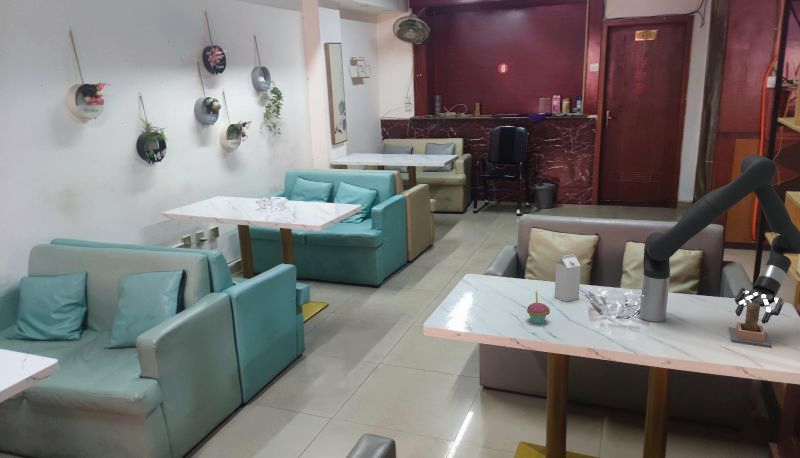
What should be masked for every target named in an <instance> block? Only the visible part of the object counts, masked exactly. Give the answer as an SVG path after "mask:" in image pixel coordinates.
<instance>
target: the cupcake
mask: <svg viewBox="0 0 800 458" xmlns="http://www.w3.org/2000/svg"><path fill="white" fill-rule="evenodd" d="M538 298H539V297H538V292H537V289H535V302H533V303H531V304H529V305H527V309H526V312H527V314H528V315H529V317H530V321H531V323H534V324H544V322H545V319H546V317H547V316H548V315H550V313H551V311H550V307H549V306H548V305H546V304H544V303H540V302H539V299H538Z"/></svg>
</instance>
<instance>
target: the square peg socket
mask: <svg viewBox="0 0 800 458" xmlns="http://www.w3.org/2000/svg"><path fill="white" fill-rule="evenodd" d="M744 326H745V322H739V321H737V322H736V323H735V327H730V326H729V327H728V332H729V337H730V342H731V343H737V344H742V345H743V344H744V345H751V346H757V347H758V346H759V347H764V348H765V347H766V348H772V343H771V340H770V337H769V334H768V332H767V331H765V330H764V326H763V325H761V324H758V325H757V332H753V331H746V330H744Z"/></svg>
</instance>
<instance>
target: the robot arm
mask: <svg viewBox="0 0 800 458" xmlns="http://www.w3.org/2000/svg"><path fill="white" fill-rule="evenodd" d="M739 167H740V168H739V169H740V170H739V171H740V173H741V174H740V175H738V176H737V177H736V178H735V179H734V180H732V181H731V182H729V183H727V184H726V185H723V186H720V187H718V188H716V189H714V190H712V191H711V190H710V192H708V193H706V194H704V195H703V196H702V197H700V198H699V199H697V201H695V202H694V203H692V205H691V206H690V207H689V208H688V209H687V210H686V211H685V213H683V215H682V217H681V218H680V219H679V220H678V221H677V222H676V224H675V225H673V227H672V228H670V229H669V230H667V231H665V232H664V233H663V232H653V233H650V234H649V235H648V236H647V237H646V239H645V241H644V246H643V247H644V248H643V265H642V266H643V277H642V285H641V286H642V287H641V297H640V307H639V319H641V320H645V321H647V322H653V323H662V322H665V321H666V318H667V309H668V308H667V307H668V297H669V288H670V277H671V267H670V258H672V257H673V256H674V255H675V254H676V253H677V252H678V251H679V250H680V249H681V248H682V247H683V246H684V245H686V243H687V242H688V241H690V240H691V239H692V238H694V237H695V236H696V235H698V234H699V233H701V232H702V231H703V230H705V229H706V228H707V227H709V226H710V225H711V224H713V223H714V222H715V221H717V220H718V219H719V218H721V217H722V216H724V215H725V214H726V213H727V212H728V211H730V209H732V208H733V207H735V205H737V204H738V203H739V202H741V201H742V200H744V198H746V197H747V196H749V195H750V194H752V193H754V195H755V197H756V198H757V201H758V203H759V205H760V207H761V210H762V213H763V214H764V217H765V220H766V222H767V224H768V225H769V229H770V230H771V232H773V233H774V234H778V235H775V237H774V238H773V239H772V241H771V246H770V251H769V257H768V259H767V262H766V263H765V265H764V267H763V269H762V270H761V271H760V273H759V275H758V276H757V279H756V281H755V282H754V284H753V287H752V289H750V290H747V289H746V288H744V287H742V288H741V289H740V290H739V292H738V293H737V294H736V297H735V298H734V302H735V303H736V305H737V306H736V309H735V314H736V316H737V317H741V315H742V313H743V311H744V309H745V307H747V303H748V302H754V303H759V304H760V308H761V307H762V308H764V307H765V309H766V311H765V313H764V314H763V316H762V318H761V324H764V325H765V324H767V323H769V320H771V317H772V316H779V315H780V313H781V311H782V309H783V306H784V304H785V302H784V299H783V298H782V297H776V296H778V295H777V294H778V293H779V291H780V289H781V287H782V286H783V283H784V281H785V279H786V276H787V273H788V272H789V270H790V268H791V266H792V260H791V258H789V257H788V256H787V254H788V255H800V229H799V228H798V227H797V225H795V224H794V223H793V221H792V219H791V216H790V213H789V212H788V209H787V207H786V206H785V204H784V202H783V200H782V199H781V197H780V196H779V194H778V193H777V191H776V190H775V188H774V186H773V184H772V181H771V180H772V179H773V178H774V177H775V175H776V174H777V170H778V169H777V168H778V167H777V165H776V162H774V161H773V160H771V159H770V158H768V157H765V156H764V155H762V154H756V153H755V154H749V155H747V156H745V157H744V158H743V160H741V162H740V166H739ZM774 302H775V306H774V308H773V309H772V308H771V306H770V305H771V304H772V303H774Z"/></svg>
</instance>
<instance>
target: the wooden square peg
mask: <svg viewBox="0 0 800 458" xmlns="http://www.w3.org/2000/svg"><path fill="white" fill-rule="evenodd" d="M760 309H761V306H760V304H759V303H754V302H748V303H747V306H746V313H745V318H744V323H745V326H744V330H746V331H753V332H757V325H759V324H758V323H759V317H760V311H761V310H760Z"/></svg>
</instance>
